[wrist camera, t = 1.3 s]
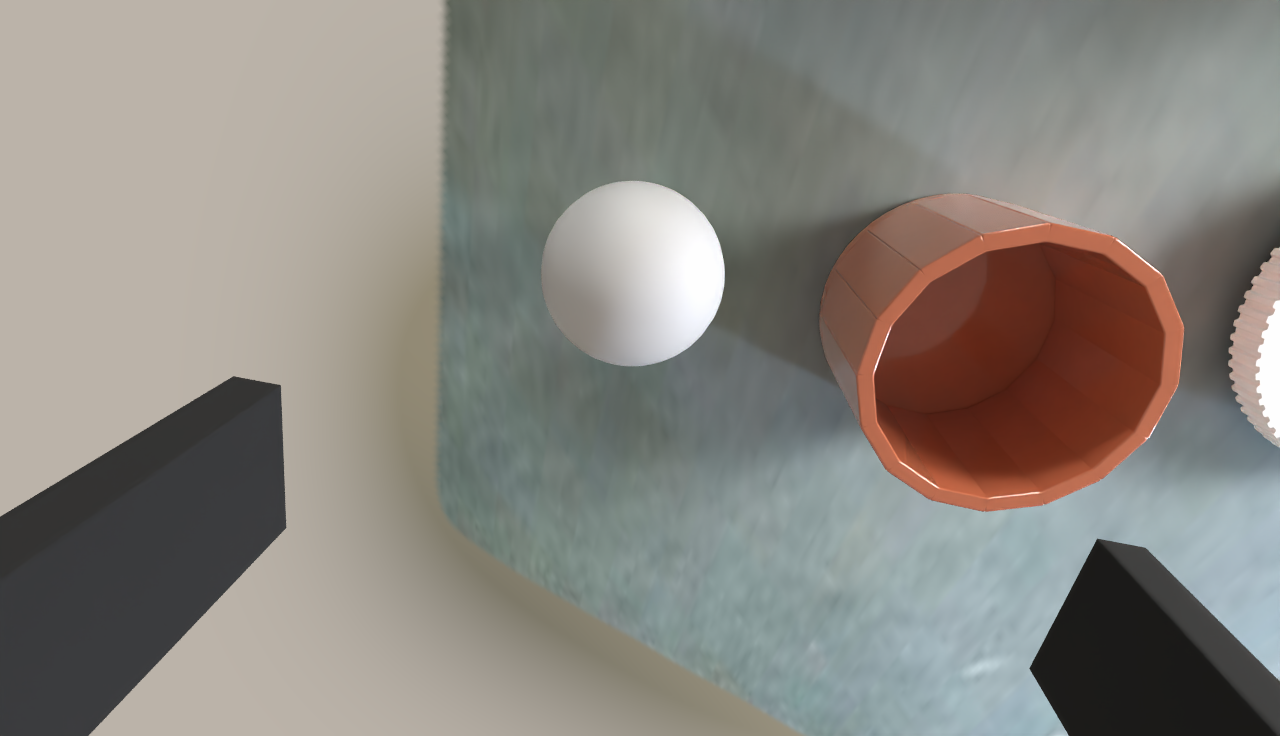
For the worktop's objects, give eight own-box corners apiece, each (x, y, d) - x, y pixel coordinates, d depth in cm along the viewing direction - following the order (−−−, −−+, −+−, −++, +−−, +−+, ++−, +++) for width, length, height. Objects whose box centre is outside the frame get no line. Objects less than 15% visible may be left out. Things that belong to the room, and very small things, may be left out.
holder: (777, 276, 30) (803, 333, 23) (1002, 143, 27) (1116, 158, 20) (881, 451, 33) (935, 553, 26) (1095, 346, 30) (1225, 426, 23)
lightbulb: (724, 165, 29) (739, 201, 18) (710, 303, 31) (717, 403, 21) (581, 156, 29) (520, 187, 19) (578, 293, 31) (522, 387, 21)
